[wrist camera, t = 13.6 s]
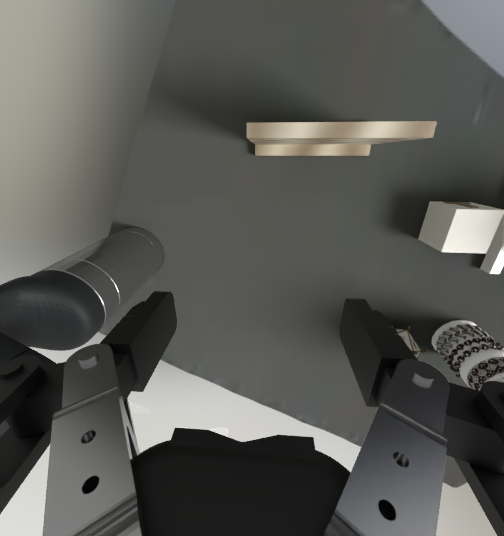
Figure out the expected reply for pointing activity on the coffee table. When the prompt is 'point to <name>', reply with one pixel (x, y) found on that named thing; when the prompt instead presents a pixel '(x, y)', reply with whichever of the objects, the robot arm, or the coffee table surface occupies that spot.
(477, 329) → the decorative candle
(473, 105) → the coffee table surface
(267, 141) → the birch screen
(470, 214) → the letter cube
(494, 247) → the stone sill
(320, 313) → the coffee table surface
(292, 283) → the coffee table surface
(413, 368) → the robot arm
